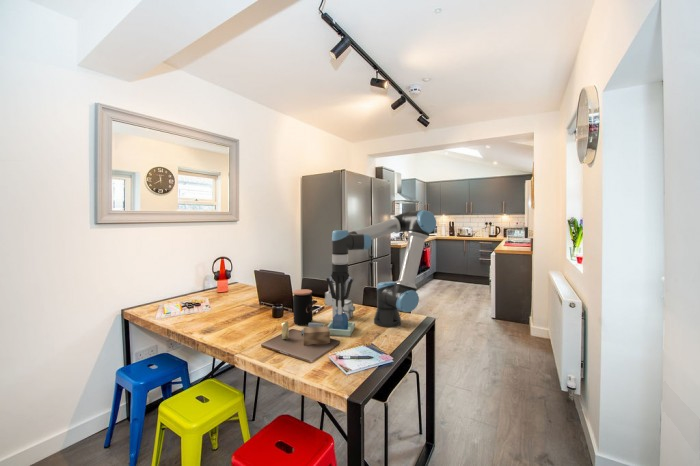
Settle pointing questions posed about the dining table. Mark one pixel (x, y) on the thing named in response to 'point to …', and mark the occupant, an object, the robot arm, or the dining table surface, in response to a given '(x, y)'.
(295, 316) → the coffee jar
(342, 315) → the perfume bottle
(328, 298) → the toy llama
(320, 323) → the slot block
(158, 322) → the dining table surface
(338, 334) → the tray
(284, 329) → the bench dog
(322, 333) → the brown wooden block
